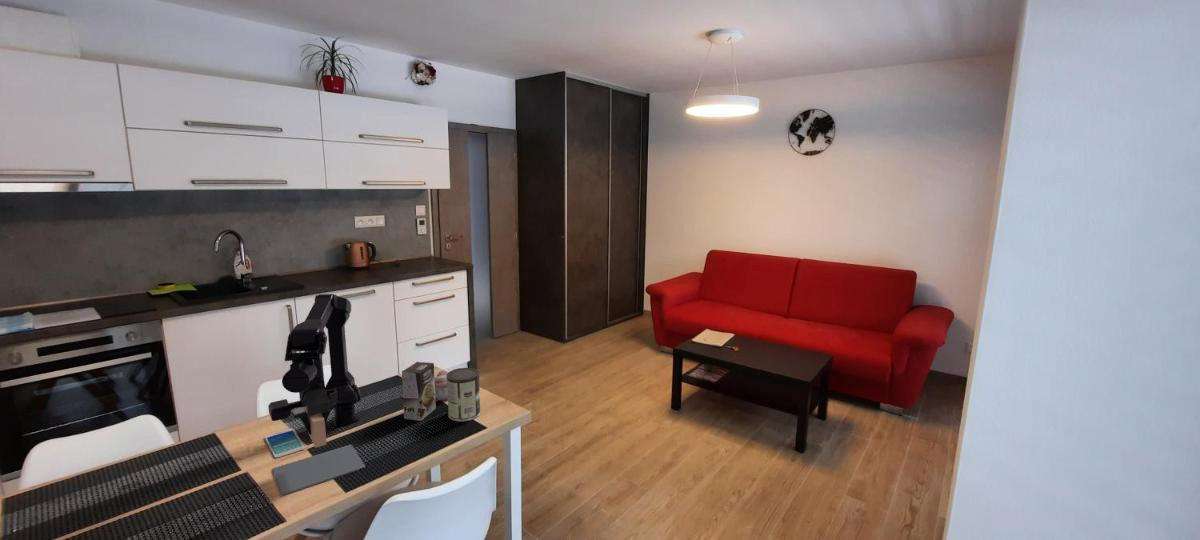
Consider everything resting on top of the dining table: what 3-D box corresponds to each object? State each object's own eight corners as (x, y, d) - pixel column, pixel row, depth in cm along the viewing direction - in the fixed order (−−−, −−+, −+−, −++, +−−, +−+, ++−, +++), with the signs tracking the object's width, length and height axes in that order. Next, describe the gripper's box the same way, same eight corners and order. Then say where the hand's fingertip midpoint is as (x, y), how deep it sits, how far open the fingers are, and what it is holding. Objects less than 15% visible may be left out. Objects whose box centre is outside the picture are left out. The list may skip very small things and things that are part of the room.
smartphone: (274, 457, 134) (263, 436, 145) (275, 460, 134) (264, 438, 145) (305, 447, 139) (292, 427, 150) (306, 450, 139) (293, 430, 150)
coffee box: (421, 421, 156) (419, 373, 153) (403, 419, 157) (400, 371, 154) (436, 408, 165) (434, 362, 162) (419, 406, 166) (416, 360, 163)
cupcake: (442, 405, 167) (441, 377, 165) (424, 398, 172) (423, 370, 170) (463, 395, 175) (462, 368, 173) (445, 388, 180) (444, 362, 178)
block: (307, 431, 131) (305, 407, 130) (318, 428, 133) (315, 404, 132) (315, 447, 124) (313, 421, 123) (326, 444, 126) (324, 418, 124)
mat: (272, 469, 129) (272, 468, 129) (351, 445, 141) (351, 444, 141) (281, 496, 119) (281, 494, 119) (365, 467, 131) (365, 466, 131)
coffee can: (465, 404, 168) (464, 364, 166) (487, 412, 163) (486, 371, 160) (441, 416, 160) (439, 374, 157) (463, 425, 154) (461, 382, 152)
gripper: (271, 396, 113) (278, 458, 116) (359, 376, 125) (363, 433, 128) (265, 381, 122) (271, 439, 125) (347, 363, 134) (351, 417, 137)
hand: (316, 432), depth 128 cm, fingers closed on block, 2 cm apart
